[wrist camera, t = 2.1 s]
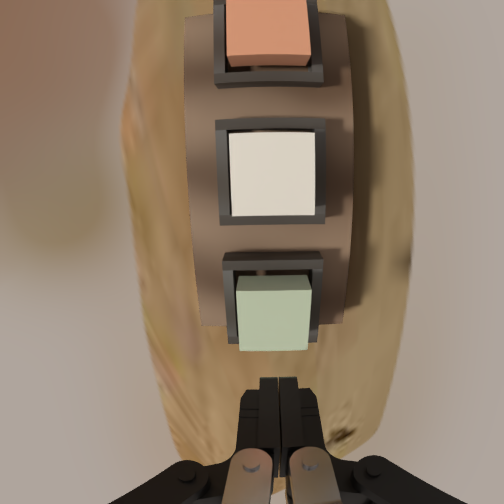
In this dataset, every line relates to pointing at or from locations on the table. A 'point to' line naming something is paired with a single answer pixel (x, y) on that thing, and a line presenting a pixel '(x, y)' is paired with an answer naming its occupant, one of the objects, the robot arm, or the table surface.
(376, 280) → the table surface
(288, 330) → the sage button
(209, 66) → the button board
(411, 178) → the table surface
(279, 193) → the offwhite button
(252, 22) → the terracotta button
